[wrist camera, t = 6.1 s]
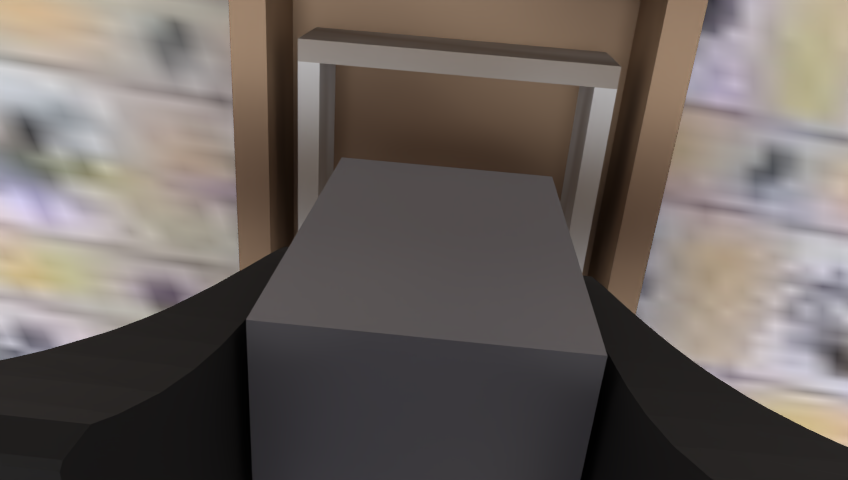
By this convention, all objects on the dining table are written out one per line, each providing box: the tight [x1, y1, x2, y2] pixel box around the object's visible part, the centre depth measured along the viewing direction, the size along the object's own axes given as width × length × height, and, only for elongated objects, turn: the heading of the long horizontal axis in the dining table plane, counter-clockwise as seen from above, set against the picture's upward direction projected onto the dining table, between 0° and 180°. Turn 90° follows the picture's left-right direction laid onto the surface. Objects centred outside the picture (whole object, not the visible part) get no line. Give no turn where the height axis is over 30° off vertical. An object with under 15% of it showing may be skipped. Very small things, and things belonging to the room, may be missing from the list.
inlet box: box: [229, 0, 708, 314], centre depth 18 cm, size 12×10×3 cm
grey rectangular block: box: [246, 157, 607, 480], centre depth 11 cm, size 4×4×6 cm
